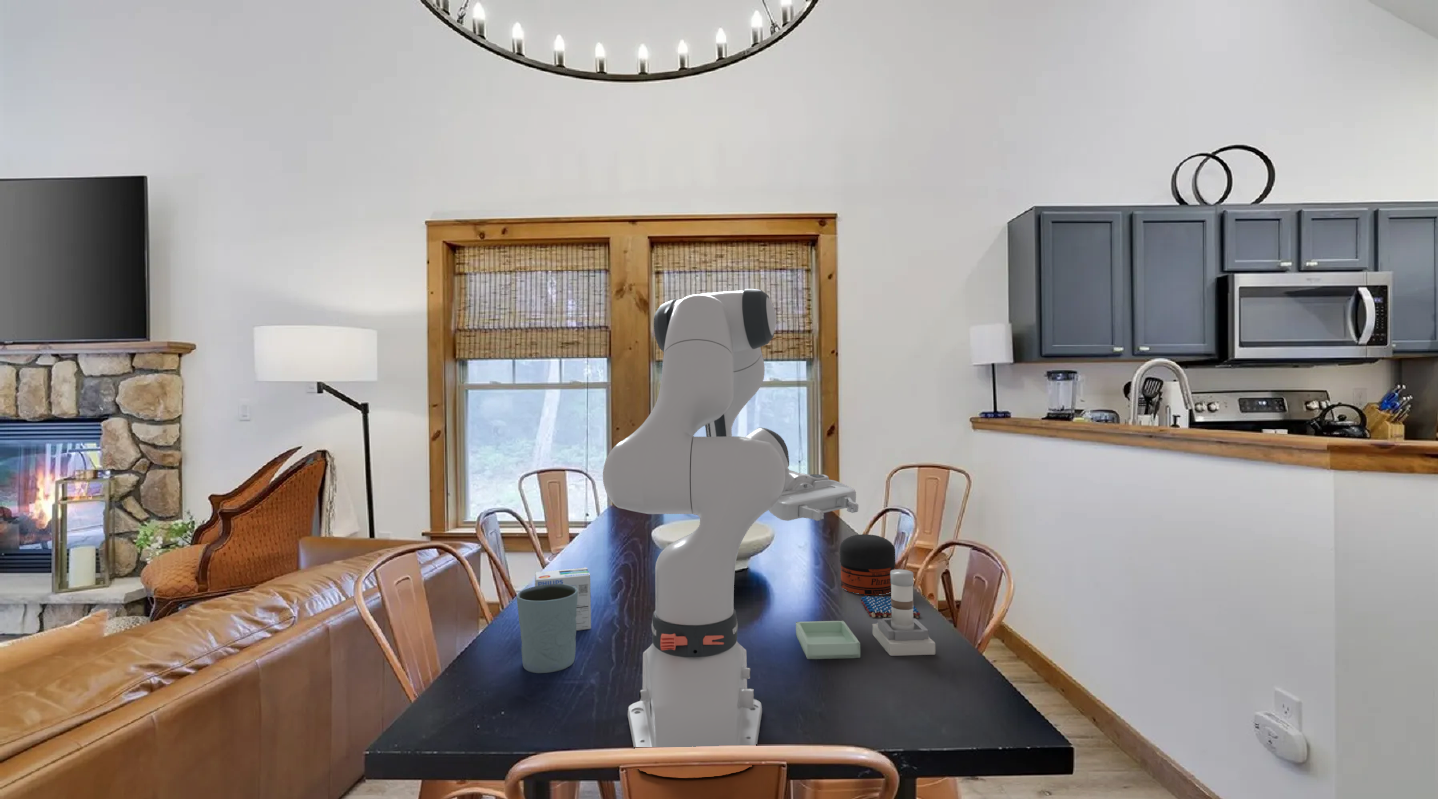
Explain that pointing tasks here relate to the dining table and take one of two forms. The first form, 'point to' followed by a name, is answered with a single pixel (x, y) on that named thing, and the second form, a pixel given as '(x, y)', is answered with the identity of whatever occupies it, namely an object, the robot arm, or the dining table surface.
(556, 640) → the green cup
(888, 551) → the oil filter
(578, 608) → the light bulb box
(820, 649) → the tray
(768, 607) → the dining table surface
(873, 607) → the woven mat
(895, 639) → the block
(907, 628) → the cylinder
